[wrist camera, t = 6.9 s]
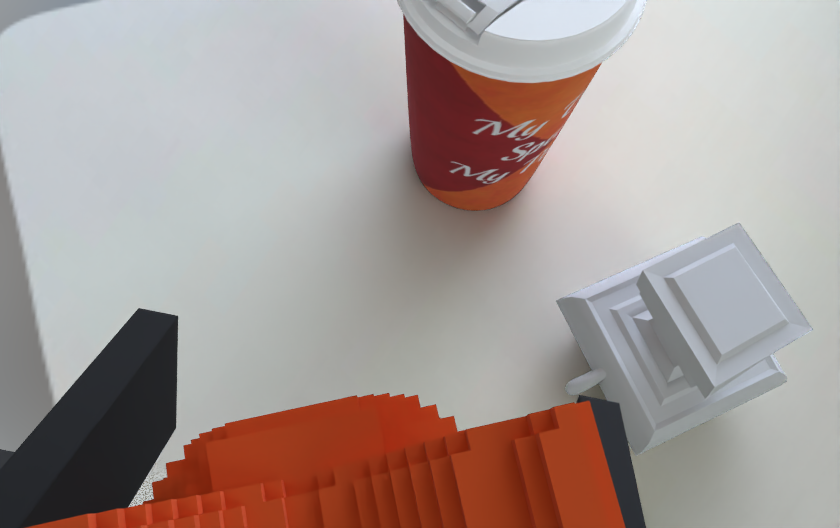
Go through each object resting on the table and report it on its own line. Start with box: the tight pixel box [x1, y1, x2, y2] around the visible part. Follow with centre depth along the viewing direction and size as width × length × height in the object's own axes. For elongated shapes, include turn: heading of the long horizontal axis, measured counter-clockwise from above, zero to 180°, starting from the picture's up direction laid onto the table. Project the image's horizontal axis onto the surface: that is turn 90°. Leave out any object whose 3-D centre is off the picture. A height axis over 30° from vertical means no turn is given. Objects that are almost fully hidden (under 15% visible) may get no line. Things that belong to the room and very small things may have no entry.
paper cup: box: [397, 0, 647, 211], centre depth 28 cm, size 8×8×14 cm
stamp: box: [556, 223, 813, 456], centre depth 28 cm, size 9×7×8 cm
